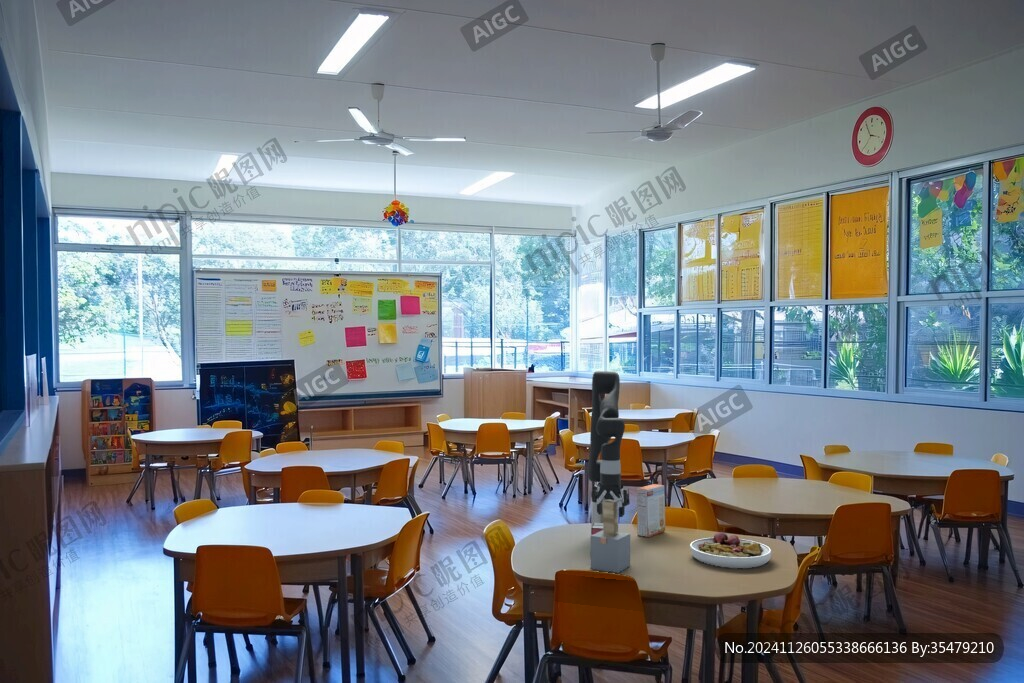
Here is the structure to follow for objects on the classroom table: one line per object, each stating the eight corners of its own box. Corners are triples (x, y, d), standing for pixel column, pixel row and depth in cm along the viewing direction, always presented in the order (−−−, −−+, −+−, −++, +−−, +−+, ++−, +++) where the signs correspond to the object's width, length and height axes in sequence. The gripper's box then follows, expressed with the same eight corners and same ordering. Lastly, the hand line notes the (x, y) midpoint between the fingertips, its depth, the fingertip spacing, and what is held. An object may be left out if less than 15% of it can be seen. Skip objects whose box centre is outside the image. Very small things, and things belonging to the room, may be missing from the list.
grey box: (603, 561, 285) (603, 529, 286) (630, 565, 279) (630, 533, 280) (589, 568, 276) (589, 536, 276) (616, 573, 270) (616, 540, 270)
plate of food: (784, 570, 275) (784, 549, 275) (703, 571, 273) (703, 550, 273) (753, 549, 305) (753, 529, 305) (681, 550, 303) (680, 530, 303)
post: (607, 564, 281) (607, 499, 281) (618, 565, 278) (618, 501, 279) (602, 566, 277) (602, 501, 278) (613, 568, 275) (613, 503, 275)
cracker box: (654, 530, 336) (653, 483, 336) (665, 532, 332) (665, 485, 332) (636, 535, 326) (636, 487, 326) (648, 538, 322) (647, 489, 322)
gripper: (632, 472, 278) (632, 515, 277) (597, 468, 285) (597, 511, 285) (623, 474, 271) (624, 519, 271) (588, 471, 279) (588, 515, 279)
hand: (610, 515), depth 278 cm, fingers open, 8 cm apart
